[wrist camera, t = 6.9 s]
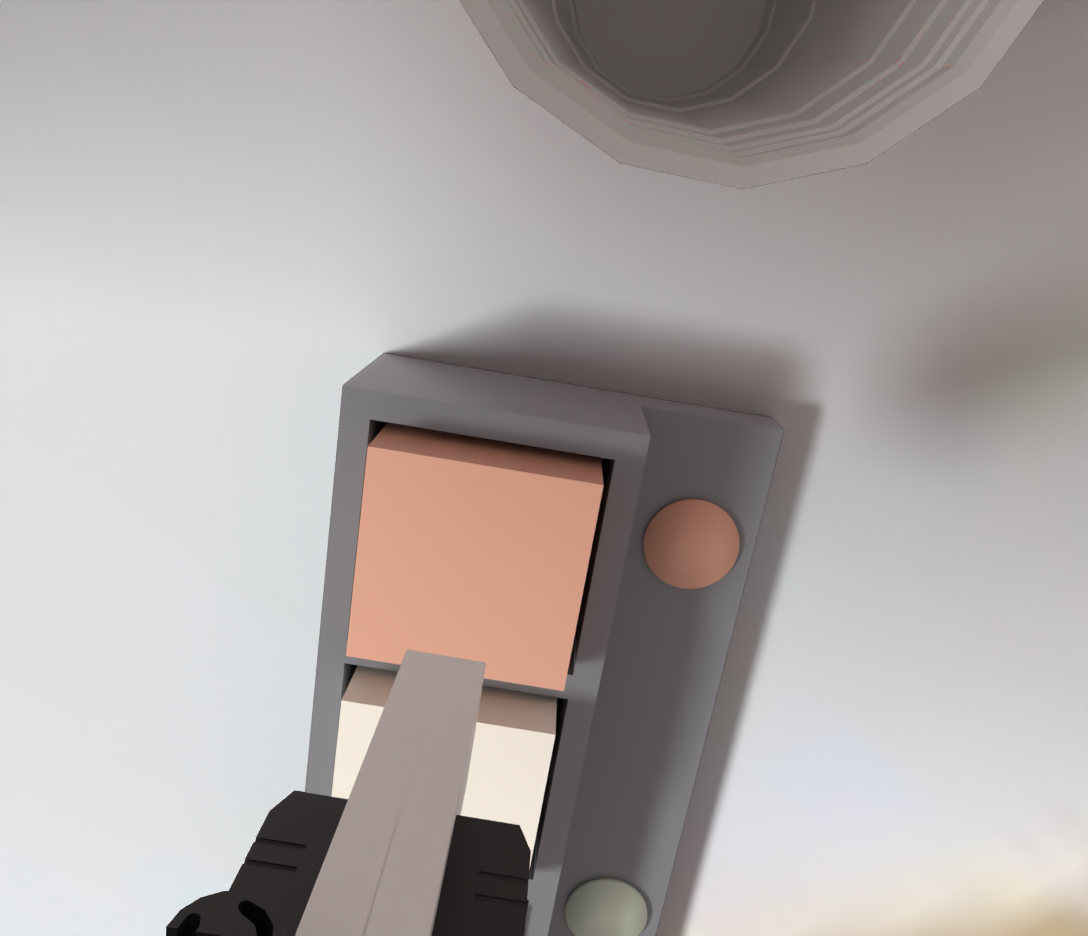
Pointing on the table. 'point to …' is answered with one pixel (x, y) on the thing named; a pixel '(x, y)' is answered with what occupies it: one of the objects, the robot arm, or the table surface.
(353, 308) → the table surface
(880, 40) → the plastic cup
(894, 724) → the table surface
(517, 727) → the cream key
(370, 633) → the terracotta key
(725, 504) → the keypad
